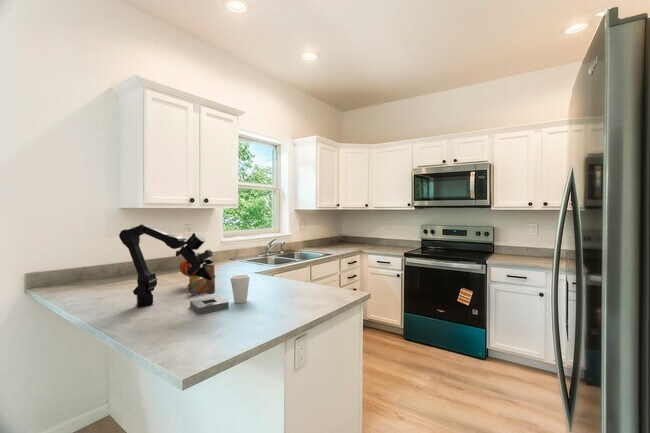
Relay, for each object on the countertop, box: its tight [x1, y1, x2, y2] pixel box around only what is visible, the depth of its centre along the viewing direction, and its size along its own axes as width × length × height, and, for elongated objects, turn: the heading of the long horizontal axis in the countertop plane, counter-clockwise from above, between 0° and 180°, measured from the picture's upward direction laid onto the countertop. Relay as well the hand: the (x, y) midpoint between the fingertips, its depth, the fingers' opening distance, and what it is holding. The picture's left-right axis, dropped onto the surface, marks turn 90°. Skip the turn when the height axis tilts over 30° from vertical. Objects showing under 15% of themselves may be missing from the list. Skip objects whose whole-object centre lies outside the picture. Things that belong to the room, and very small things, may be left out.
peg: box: [205, 263, 216, 295], centre depth 155 cm, size 4×4×14 cm
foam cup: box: [230, 273, 250, 304], centre depth 162 cm, size 10×9×13 cm
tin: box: [187, 277, 206, 296], centre depth 179 cm, size 15×3×8 cm, turn 143°
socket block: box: [189, 295, 230, 315], centre depth 152 cm, size 14×14×3 cm
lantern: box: [178, 258, 205, 284], centre depth 195 cm, size 17×17×30 cm
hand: (213, 278), depth 154 cm, fingers closed on peg, 4 cm apart
